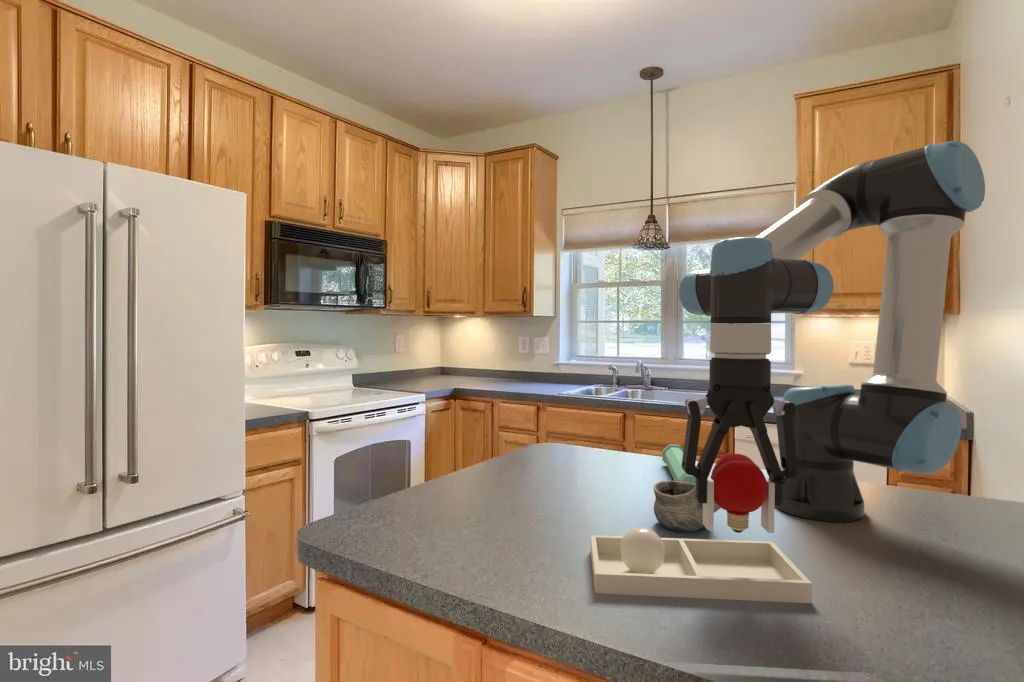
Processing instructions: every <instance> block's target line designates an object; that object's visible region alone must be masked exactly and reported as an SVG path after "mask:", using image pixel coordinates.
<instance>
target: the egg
mask: <svg viewBox="0 0 1024 682" xmlns="http://www.w3.org/2000/svg"><path fill="white" fill-rule="evenodd" d="M623 536H624V537H623V538H622V540H621V544H620V554H621V558H622V560H623V562H624V564H625V565H626V566H627V567H628V568H629V569H630V570H632V571H633V572H635V573H640V574H651V573H653V572H655V571H657V570H658V569H659V568H660V567H661V565H662V564H663V561H664V558H665V547H664V544H663V542H662V540H661V538H662V537H661V536H659V535H658V533H656V532H655V531H654V530H653V529H650V528H648V527H644V526H641V527H634V528H631V529H630V530H628V531H627V532H626V533H625V534H624V535H623Z"/></svg>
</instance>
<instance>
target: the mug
mask: <svg viewBox="0 0 1024 682" xmlns="http://www.w3.org/2000/svg"><path fill="white" fill-rule="evenodd" d="M709 477H710V478H711V475H709ZM695 489H696V484H692V483H687V482H679V481H674V480H664V481H659V482H658V481H657V482H656V483H654V485H653V493H654V496H655V499H654V503H653V504H654V506H653V513H654V515H655V518H656V520H657V522H658V523H659V524H661V525H662V526H663V527H665V528H666V529H669V530H672V531H677V532H681V533H682V532H683V533H694V532H697V531H699V530H701V529H702V528H706V527H705V526H704V524H703V503H699V502H698V501H697V499H696V496H695ZM720 509H722V508H721V507H720V506H718V505H717V504H716V503H715V502H714V514H715V513H717V512H719V510H720Z"/></svg>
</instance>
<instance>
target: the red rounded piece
mask: <svg viewBox="0 0 1024 682" xmlns="http://www.w3.org/2000/svg"><path fill="white" fill-rule="evenodd" d="M710 476H711V479H712V480H713V481H714V502H715V503H716V504H717V505H718V506H720V507H721V508H720V509H722V510H725V511H726V525H727V526H728V527H729V528H730V529H731V530H732V531H733V532H734V533H738V534H739V533H742V532H744V531H745V530H747V529H749V528H750V527H749V524H750V523H749V521H750V520H749V518H750V513H752V512H754V511H757V510H759V509H761V506H762V504H763V503H764V501H765V499H766V496H767V482H766V478H767V477H766V476H765V474H764V472H763V471H762V469H761V468H760V467H759V466H758V465H757V464H756V463H755V462H754V460H752V459H751V458H750V457H749V456H747V455H744V454H741V453H726V454H724V455H722V456H721V457H720V458H719V459H718V460H717V462H716V463H715V465H713V467H712V470H711V475H710Z"/></svg>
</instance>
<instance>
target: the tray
mask: <svg viewBox="0 0 1024 682" xmlns="http://www.w3.org/2000/svg"><path fill="white" fill-rule="evenodd" d="M623 537H624V535H623V536H621V535H619V536H618V535H594V534H592V535H591V534H590V560H591V569H592V579H593V586H594V587H593V590H594V594H598V595H599V594H603V595H604V594H605V595H620V596H621V595H625V596H626V595H627V596H642V597H644V596H646V597H670V598H671V597H672V598H687V599H688V598H689V599H692V598H693V599H711V600H713V599H714V600H731V601H732V600H733V601H755V602H756V601H757V602H776V603H777V602H778V603H798V604H799V603H800V604H813V583H812V582H811V581H810V579H809V578H807V576H806V575H805V574H804V573H803V572H802V571H801V570H800V569H799V568H798V567H797V565H795V564H794V563H793V561H792V560H791V559H789V557H787V556H786V554H785V553H784V552H782V550H781V549H780V548H779V547H778V546H777V545H776V544H775V543H774V542H773V541H764V540H763V541H760V540H758V541H756V540H734V539H732V540H731V539H708V538H707V539H705V538H704V539H702V538H679V537H678V538H674V537H660V538H661V540H662V542H663V544H664V547H665V558H664V561H663V564H662V565H661V567H660V568H659V569H658V570H657V571H655V572H653V573H651V574H640V573H635V572H633V571H632V570H630V569H629V568H628V567H627V566H626V565H625V564H624V562H623V560H622V558H621V554H620V544H621V540H622V538H623Z"/></svg>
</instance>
